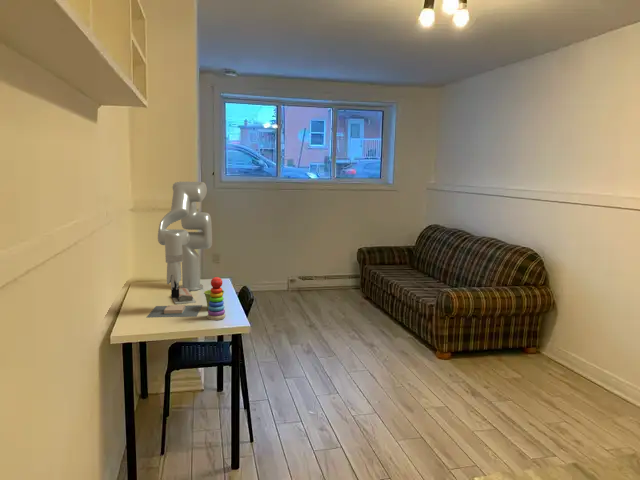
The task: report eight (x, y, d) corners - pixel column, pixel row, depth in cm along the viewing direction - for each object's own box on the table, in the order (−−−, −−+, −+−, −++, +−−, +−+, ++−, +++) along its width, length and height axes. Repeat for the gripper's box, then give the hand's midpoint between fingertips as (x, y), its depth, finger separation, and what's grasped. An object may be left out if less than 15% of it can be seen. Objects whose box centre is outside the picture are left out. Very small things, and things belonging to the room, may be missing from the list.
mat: (155, 306, 231) (155, 306, 231) (202, 305, 233) (202, 305, 233) (146, 318, 214) (146, 317, 213) (196, 317, 216) (196, 316, 216)
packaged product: (170, 288, 249) (190, 286, 254) (170, 297, 250) (190, 295, 254) (175, 296, 233) (195, 294, 237) (175, 306, 234) (196, 304, 238)
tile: (167, 305, 226) (164, 310, 218) (185, 305, 226) (182, 309, 218) (168, 309, 226) (164, 314, 218) (185, 309, 227) (182, 314, 219)
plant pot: (203, 307, 230) (202, 290, 229) (222, 305, 234) (222, 288, 232) (205, 313, 222) (205, 294, 220) (226, 311, 225) (225, 293, 224)
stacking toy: (208, 321, 209) (207, 279, 207) (205, 316, 217) (204, 275, 214) (227, 319, 212) (226, 278, 210) (223, 314, 220) (222, 274, 217)
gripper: (169, 255, 228) (170, 293, 230) (162, 261, 213) (163, 302, 216) (185, 255, 229) (186, 293, 231) (179, 261, 214) (180, 301, 216)
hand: (175, 297), depth 223 cm, fingers closed
